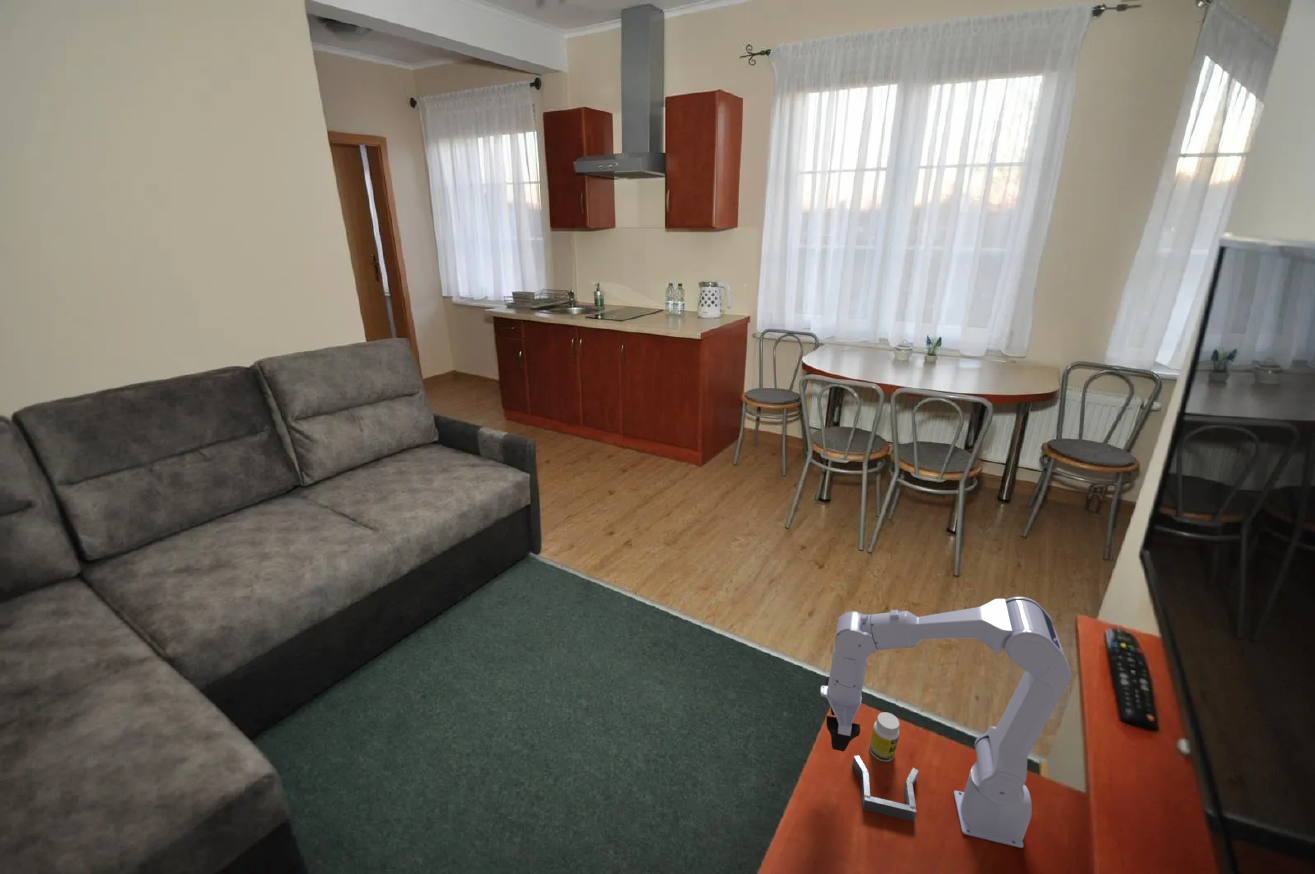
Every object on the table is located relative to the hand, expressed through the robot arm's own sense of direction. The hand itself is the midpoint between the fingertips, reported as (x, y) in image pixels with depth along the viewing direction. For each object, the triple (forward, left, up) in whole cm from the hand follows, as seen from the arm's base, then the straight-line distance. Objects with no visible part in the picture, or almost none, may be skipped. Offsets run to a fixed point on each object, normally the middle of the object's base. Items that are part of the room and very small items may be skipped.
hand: (837, 731), depth 108 cm
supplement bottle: (-10, -6, -10) cm, 15 cm away
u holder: (-10, +3, -10) cm, 14 cm away
